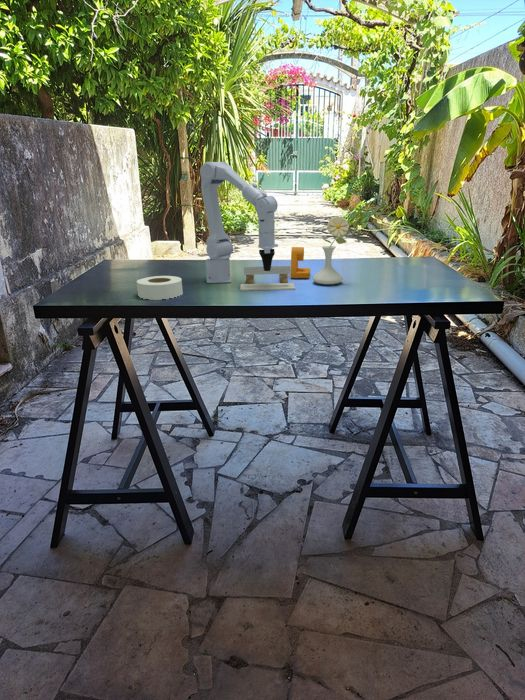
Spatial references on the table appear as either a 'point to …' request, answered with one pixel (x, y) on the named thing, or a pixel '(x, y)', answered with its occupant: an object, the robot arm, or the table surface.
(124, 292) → the table surface
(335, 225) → the flower in vase
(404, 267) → the table surface
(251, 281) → the post left
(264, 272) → the rail
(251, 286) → the mat
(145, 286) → the roll of tape
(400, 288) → the table surface
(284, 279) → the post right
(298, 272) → the bracket
